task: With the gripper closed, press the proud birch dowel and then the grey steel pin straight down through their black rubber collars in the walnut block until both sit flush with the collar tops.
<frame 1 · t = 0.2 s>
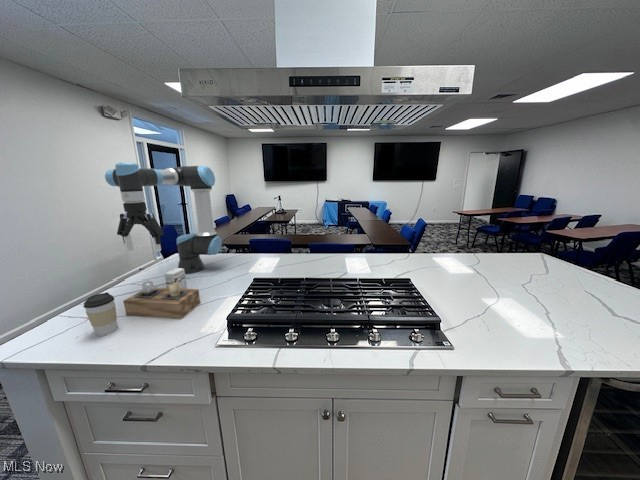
hand: (144, 251, 108), 28 cm above the worktop, fingers open, 13 cm apart
coffee cup: (106, 331, 99), on the worktop
walnut block: (165, 308, 114), on the worktop
steel pin: (148, 290, 113), point 9 cm above the worktop, slide at 5.0 cm
birch dowel: (175, 291, 111), point 9 cm above the worktop, slide at 5.0 cm
ink box: (178, 291, 132), on the worktop
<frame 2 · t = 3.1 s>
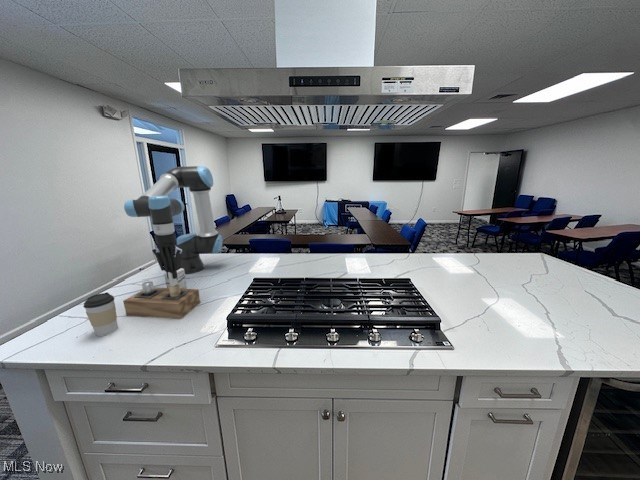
hand: (173, 285, 111), 12 cm above the worktop, fingers closed
birch dowel: (175, 292, 112), point 8 cm above the worktop, slide at 4.4 cm, touching gripper
everything else where it was.
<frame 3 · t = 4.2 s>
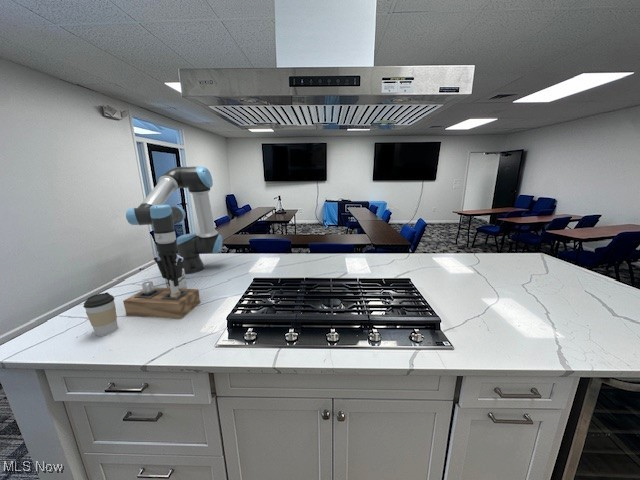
hand: (175, 292, 111), 8 cm above the worktop, fingers closed
birch dowel: (176, 300, 112), point 5 cm above the worktop, slide at 0.7 cm, touching gripper
everything else where it was.
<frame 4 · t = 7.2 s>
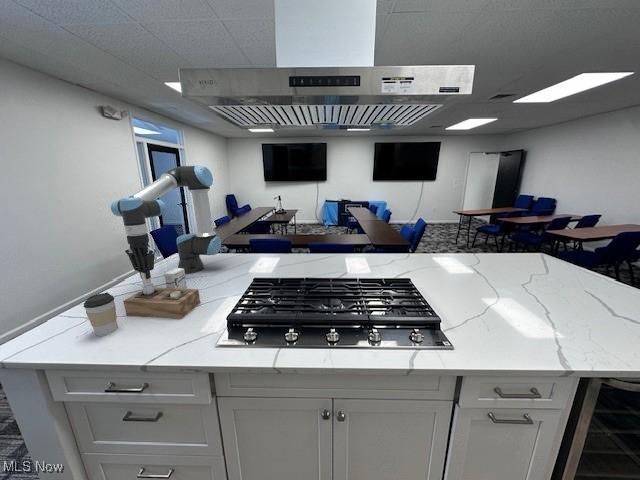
hand: (147, 285, 112), 11 cm above the worktop, fingers closed
steel pin: (149, 292, 113), point 8 cm above the worktop, slide at 3.8 cm, touching gripper
birch dowel: (176, 300, 112), point 5 cm above the worktop, slide at 0.7 cm
everything else where it was.
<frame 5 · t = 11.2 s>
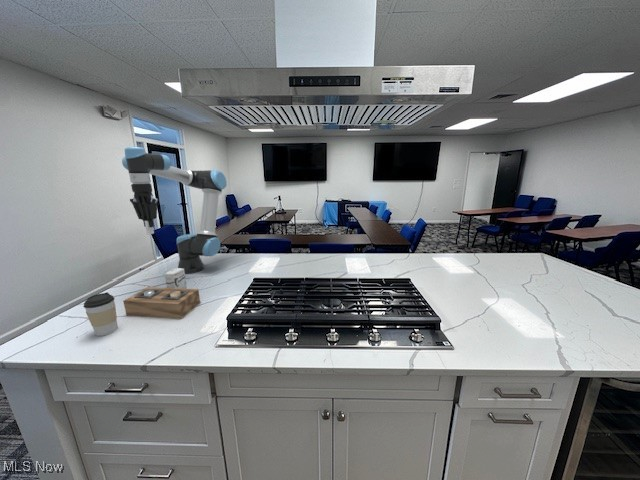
hand: (150, 233, 119), 32 cm above the worktop, fingers closed
steel pin: (150, 298, 114), point 5 cm above the worktop, slide at 0.7 cm
everything else where it was.
at the end: birch dowel slide at 0.7 cm; steel pin slide at 0.7 cm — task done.
